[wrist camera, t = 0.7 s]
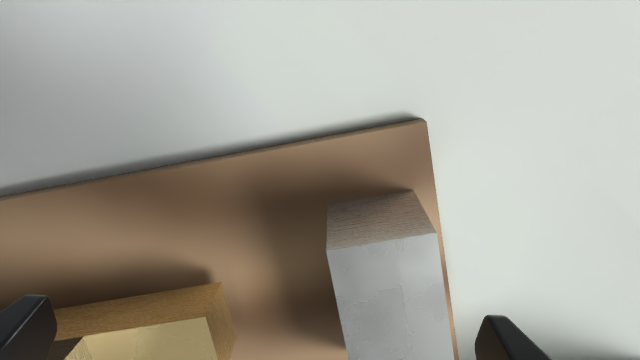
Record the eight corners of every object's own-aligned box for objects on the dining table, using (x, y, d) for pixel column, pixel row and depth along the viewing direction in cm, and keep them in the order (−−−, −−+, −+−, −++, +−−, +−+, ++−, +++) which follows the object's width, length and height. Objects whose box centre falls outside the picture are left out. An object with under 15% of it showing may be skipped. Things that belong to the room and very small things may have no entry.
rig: (435, 339, 24) (462, 416, 19) (-152, 428, 27) (-263, 516, 22) (413, 189, 22) (436, 232, 17) (-221, 301, 25) (-363, 366, 20)
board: (457, 373, 26) (462, 386, 25) (-120, 457, 29) (-136, 471, 28) (422, 118, 22) (426, 121, 21) (-237, 241, 25) (-260, 249, 24)
